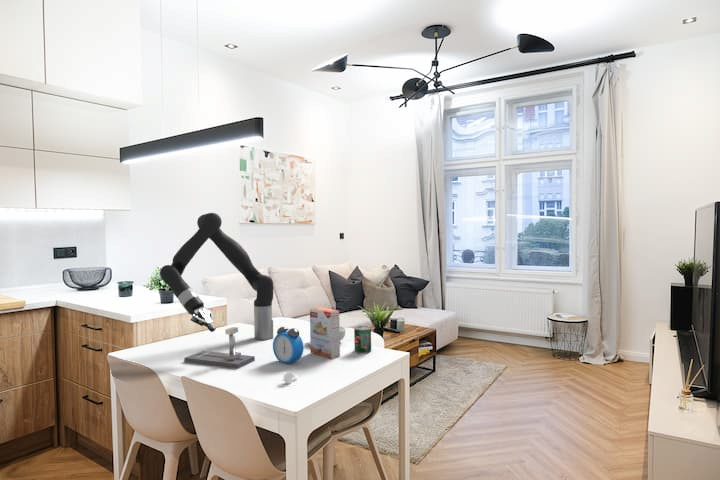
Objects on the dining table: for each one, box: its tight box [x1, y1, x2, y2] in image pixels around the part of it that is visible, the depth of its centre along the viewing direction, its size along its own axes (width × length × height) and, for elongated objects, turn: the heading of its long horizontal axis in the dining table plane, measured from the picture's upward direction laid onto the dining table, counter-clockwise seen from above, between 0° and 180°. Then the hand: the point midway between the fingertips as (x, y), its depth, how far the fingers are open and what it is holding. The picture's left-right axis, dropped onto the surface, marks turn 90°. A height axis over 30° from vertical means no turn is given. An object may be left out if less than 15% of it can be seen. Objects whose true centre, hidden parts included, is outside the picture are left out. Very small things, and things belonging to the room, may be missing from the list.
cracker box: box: [309, 306, 341, 359], centre depth 207 cm, size 14×6×21 cm, turn 47°
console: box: [183, 350, 256, 370], centre depth 199 cm, size 28×12×2 cm, turn 68°
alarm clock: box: [272, 326, 304, 365], centre depth 197 cm, size 13×6×15 cm, turn 54°
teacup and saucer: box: [277, 371, 300, 388], centre depth 171 cm, size 9×8×4 cm
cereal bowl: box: [339, 325, 346, 342], centre depth 229 cm, size 17×17×7 cm
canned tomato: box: [353, 325, 372, 354], centre depth 213 cm, size 8×8×11 cm
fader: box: [223, 326, 242, 360], centre depth 196 cm, size 5×6×13 cm
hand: (213, 330), depth 200 cm, fingers closed
